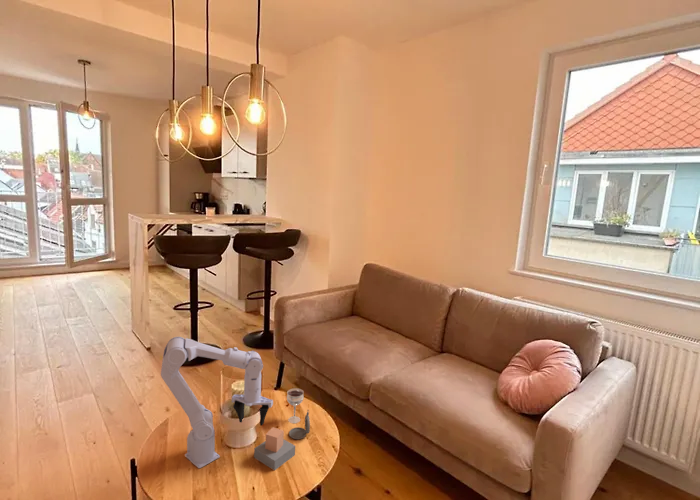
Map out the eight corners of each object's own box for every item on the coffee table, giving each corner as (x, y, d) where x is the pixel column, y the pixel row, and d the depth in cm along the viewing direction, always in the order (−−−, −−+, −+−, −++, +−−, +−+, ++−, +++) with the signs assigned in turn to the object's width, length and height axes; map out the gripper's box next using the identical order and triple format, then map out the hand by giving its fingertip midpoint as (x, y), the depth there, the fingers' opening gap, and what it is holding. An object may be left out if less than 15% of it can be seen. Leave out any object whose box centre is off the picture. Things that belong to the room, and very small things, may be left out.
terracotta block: (265, 448, 137) (265, 434, 136) (272, 441, 141) (272, 427, 140) (276, 452, 135) (277, 437, 134) (283, 444, 140) (283, 430, 139)
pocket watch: (285, 434, 151) (286, 410, 149) (302, 425, 157) (303, 402, 156) (299, 444, 146) (300, 419, 144) (316, 435, 152) (317, 411, 150)
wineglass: (283, 422, 158) (284, 395, 156) (289, 413, 165) (290, 387, 163) (299, 426, 157) (300, 398, 155) (304, 416, 163) (306, 389, 161)
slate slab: (254, 458, 137) (254, 448, 137) (274, 444, 146) (275, 434, 145) (274, 471, 132) (274, 460, 131) (294, 456, 140) (295, 445, 139)
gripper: (227, 389, 135) (227, 426, 137) (268, 395, 133) (267, 432, 135) (236, 380, 142) (236, 414, 144) (275, 385, 140) (274, 420, 142)
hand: (251, 422), depth 140 cm, fingers open, 7 cm apart
